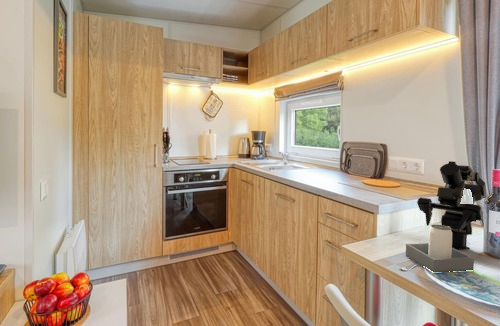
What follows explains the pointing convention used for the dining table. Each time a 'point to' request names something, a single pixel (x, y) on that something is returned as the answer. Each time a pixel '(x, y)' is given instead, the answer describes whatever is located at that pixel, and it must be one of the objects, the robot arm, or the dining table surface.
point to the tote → (454, 263)
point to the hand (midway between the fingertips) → (442, 227)
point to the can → (440, 242)
